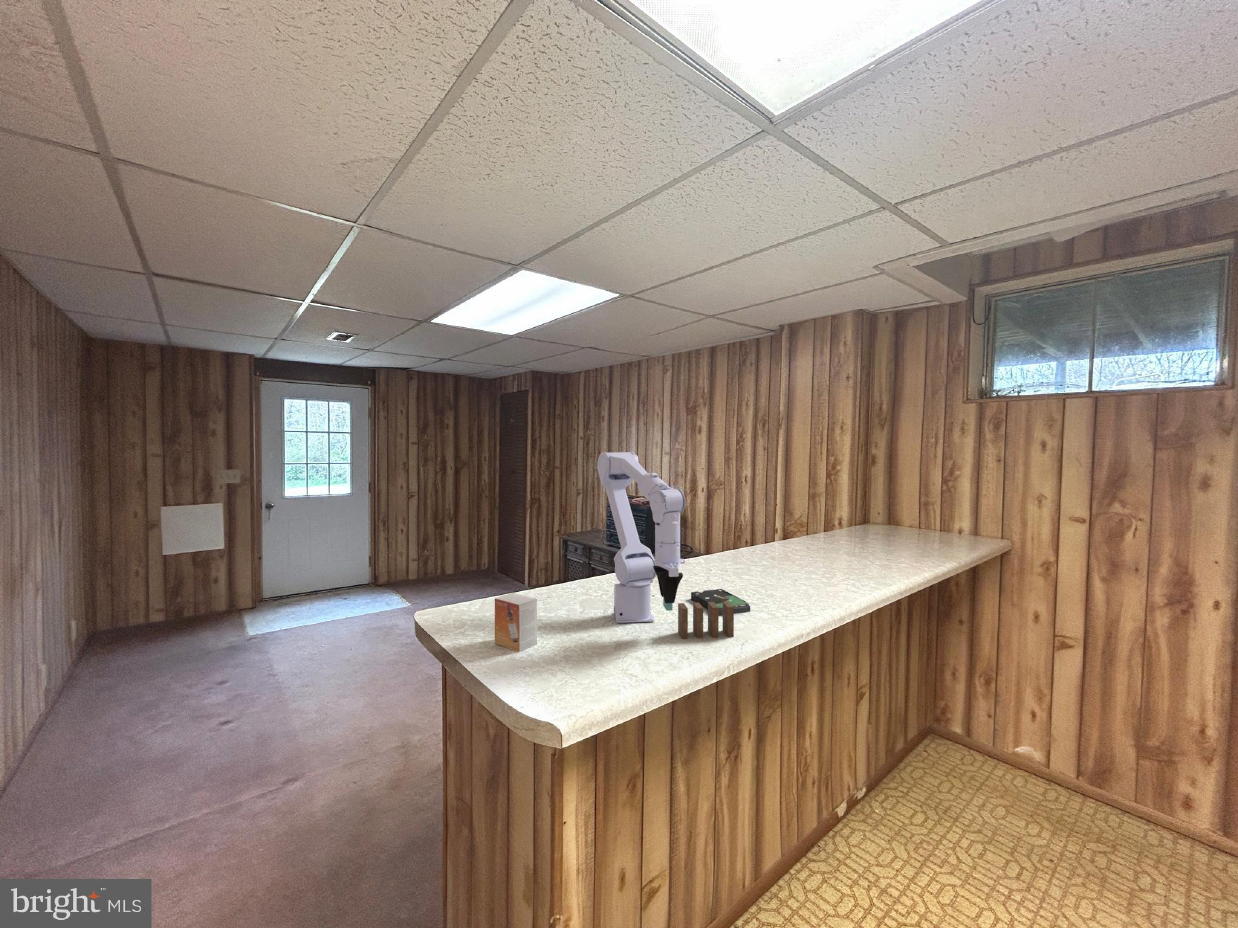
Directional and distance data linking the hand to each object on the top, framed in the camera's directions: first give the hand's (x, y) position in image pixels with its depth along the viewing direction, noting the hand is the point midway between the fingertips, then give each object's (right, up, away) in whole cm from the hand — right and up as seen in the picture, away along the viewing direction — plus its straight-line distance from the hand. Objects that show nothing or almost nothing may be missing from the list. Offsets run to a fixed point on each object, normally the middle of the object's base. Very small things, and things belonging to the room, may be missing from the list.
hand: (667, 599), depth 115 cm
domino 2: (+7, -9, +1) cm, 11 cm away
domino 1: (+4, -9, +1) cm, 9 cm away
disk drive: (+16, -8, +22) cm, 29 cm away
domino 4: (+14, -9, +2) cm, 17 cm away
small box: (-34, -9, -4) cm, 36 cm away
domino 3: (+11, -9, +1) cm, 14 cm away
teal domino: (0, -2, 0) cm, 2 cm away
